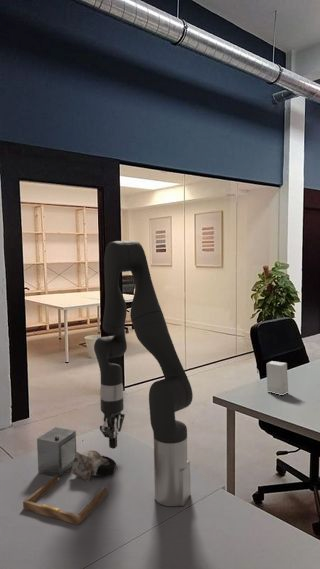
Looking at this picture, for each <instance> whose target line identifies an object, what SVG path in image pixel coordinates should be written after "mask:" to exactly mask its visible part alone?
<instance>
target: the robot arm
mask: <svg viewBox="0 0 320 569" xmlns="http://www.w3.org/2000/svg"><path fill="white" fill-rule="evenodd" d="M103 262H104V294H105V297H104V298H105V299H104V310H103V319H102V330H103V331H104V332H105V333H107V334H109V335H108V336H100V337H98V338H97V339H95V342H94V345H93V351H94V354H95V356H96V360H97V363H98V367H99V371H100V375H99V376H100V389H99V390H100V391H99V394H100V398H99V399H100V401H99V402H100V412H102V413H103V424H102V425H100V426H99V430H100V432H101V433H102V435H103V437H104V438H108V446H109V447H108V448H110V449H113V450H114V449H116V448H117V447H118V436H119V432H121V431H122V428H123V427H122V426H123V424H124V420H125V413H122V412H123V411H124V409H125V408H124V407H125V406H124V403H125V402H124V386H123V370H122V365H120V364H117V363H113V362H112V363H111V362H109V360H108V359H112V358H119V357H122V356H124V355H125V353H126V352H127V348H128V345H127V339H126V330H125V329H126V326H125V325H126V321H127V320H126V318H127V313H128V312H127V311H128V310H127V309H128V308H127V303H126V300H125V297H124V295H123V292H122V291H121V288H120V286H119V285H120V284H119V280H120V275H121V273H125V272H130V273H131V274H132V279H133V282H134V293H133V297H132V302H131V306H130V312H129V314H130V320H131V324H132V327H133V329H134V333H135V337H136V338H137V340H138V341H139V342H140V344H141V345H142V346H143V347H144V348H145V349H146V350H147V351H148V352H149V354H151V355H152V356H153V357H154V359H155V360H156V361H157V363H158V365H159V367H160V368H161V371H162V373H163V377H164V378H163V379H159V380H156V381H154V382H153V383H152V384H151V385H150V388H149V390H148V392H149V393H148V405H149V418H150V425H151V429H152V433H153V466H154V467H153V473H154V474H153V475H154V482H153V483H154V498H155V500H156V502H157V503H158V504H160V505H162V506H165V507H178V506H180V507H184V506H185V504H186V502H187V501H188V499H189V497H190V495H191V461H190V460H188V428H187V425H186V424H185V423H184V422H182V421H179V420H177V419H176V412H177V413H178V412H179V411H181V410H183V409H186V408H188V407H189V406H190V405H191V404H192V401H193V397H194V396H193V388H192V386H191V383H190V380H189V378H188V375H187V373H186V371H185V368H184V367H183V365H182V362H181V360H180V357H179V355H178V353H177V352H176V351H177V350H176V347H175V345H174V343H173V340H172V337H171V335H170V332H169V329H168V325H167V322H166V319H165V316H164V313H163V311H162V308H161V305H160V302H159V300H158V297H157V294H156V290H155V287H154V284H153V280H152V276H151V273H150V272H151V271H150V269H149V268H150V267H149V263H148V260H147V257H146V252H145V250H144V247H143V245H142V244H141V243H140V241H137V240H115V241H109V243H108V244H106V247H105V251H104V260H103Z"/></svg>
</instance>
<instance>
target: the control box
mask: <svg viewBox="0 0 320 569" xmlns="http://www.w3.org/2000/svg"><path fill="white" fill-rule="evenodd" d="M36 446H37V472H38V474H40V475H45V476H49V477H52V478H53V477H54V476H58V479H61V478H62V477H63V476H64V475H65V474H66V473H68V472H69V471H70V470H72V466H73V462H74V458H75V454H76V452H77V432H76V430H73V429H67V428H63V427H58V426H55V427H53V428H52V429H50V430H49V431H47V432H45V433H44V434H41V436H39V437H38V438H36Z"/></svg>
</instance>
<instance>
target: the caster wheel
mask: <svg viewBox="0 0 320 569" xmlns="http://www.w3.org/2000/svg"><path fill="white" fill-rule="evenodd" d="M116 466H117V463H116V461H115V460H114V459H113V458H111V457H108V456H106V455H101V454H100V453H99V451H97V450H87V451H85V452H83V453H81V452H80V453H79V452H77V451H76V454H75V458H74V462H73V466H72V468H71V469H70V470H71V471H70V473H71V475H74V476H76V477H79V478H80V479H82V480H84V481H87V482H90V481H91V476H99V477H110V476H112V475H114V474H115V469H116Z"/></svg>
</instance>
